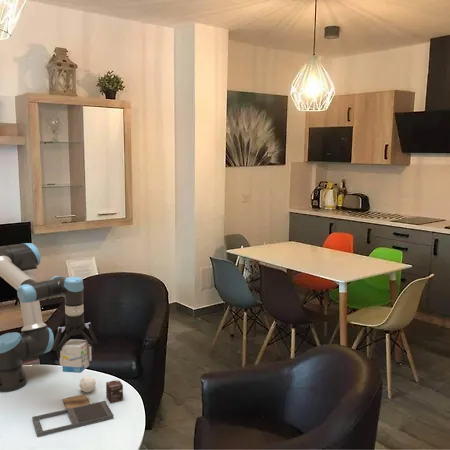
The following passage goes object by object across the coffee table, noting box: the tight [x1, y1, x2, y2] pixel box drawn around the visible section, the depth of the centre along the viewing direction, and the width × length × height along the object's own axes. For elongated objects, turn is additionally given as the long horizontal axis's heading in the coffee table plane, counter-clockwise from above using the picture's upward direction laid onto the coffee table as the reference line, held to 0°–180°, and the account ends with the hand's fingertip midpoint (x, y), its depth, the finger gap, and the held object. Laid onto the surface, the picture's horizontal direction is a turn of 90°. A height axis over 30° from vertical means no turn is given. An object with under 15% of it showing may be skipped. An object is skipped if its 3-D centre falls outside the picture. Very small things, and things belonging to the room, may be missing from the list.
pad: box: [62, 393, 92, 410], centre depth 220 cm, size 10×10×1 cm
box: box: [105, 379, 124, 404], centre depth 224 cm, size 6×6×7 cm
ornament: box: [79, 375, 97, 393], centre depth 230 cm, size 7×7×8 cm
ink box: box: [61, 338, 90, 374], centre depth 216 cm, size 8×8×12 cm
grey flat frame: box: [31, 400, 115, 438], centre depth 207 cm, size 30×13×2 cm, turn 119°
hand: (75, 362), depth 217 cm, fingers closed on ink box, 11 cm apart
